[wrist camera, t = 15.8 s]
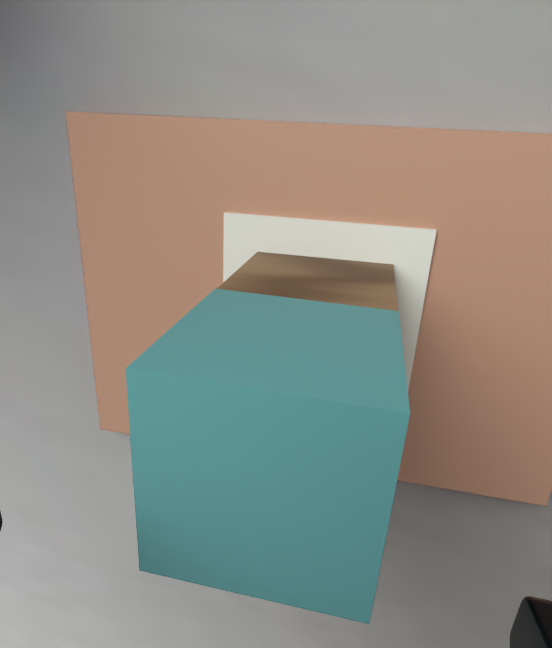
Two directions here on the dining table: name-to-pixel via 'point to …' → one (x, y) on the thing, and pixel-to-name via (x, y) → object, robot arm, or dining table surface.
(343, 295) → the walnut block
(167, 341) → the teal block
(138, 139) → the baseplate
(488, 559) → the dining table surface
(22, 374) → the dining table surface
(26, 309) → the dining table surface
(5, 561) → the dining table surface
